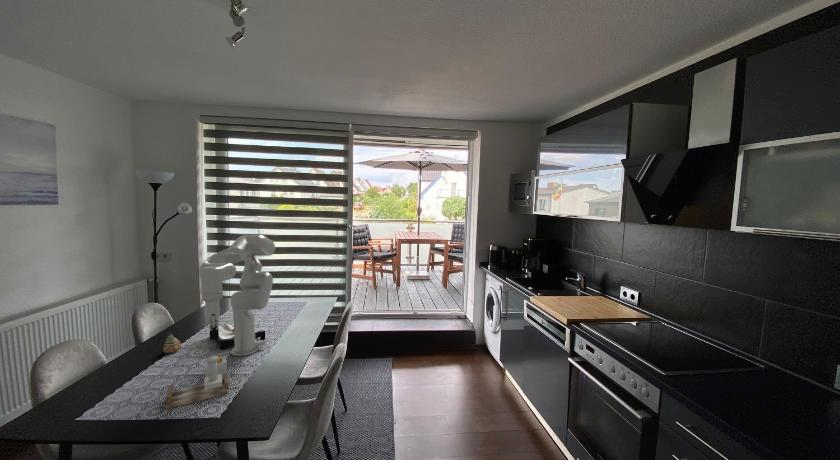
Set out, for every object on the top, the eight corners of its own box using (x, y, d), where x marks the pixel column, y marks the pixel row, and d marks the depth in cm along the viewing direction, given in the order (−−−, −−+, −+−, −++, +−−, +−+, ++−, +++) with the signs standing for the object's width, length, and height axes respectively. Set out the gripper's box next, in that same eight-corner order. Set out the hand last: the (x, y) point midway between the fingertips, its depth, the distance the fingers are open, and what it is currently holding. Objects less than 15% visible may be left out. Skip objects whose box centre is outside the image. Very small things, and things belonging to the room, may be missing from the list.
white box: (226, 373, 148) (226, 356, 147) (227, 380, 142) (226, 362, 141) (205, 378, 143) (204, 360, 143) (205, 385, 137) (204, 367, 137)
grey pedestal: (221, 378, 138) (220, 353, 137) (222, 386, 132) (221, 359, 131) (204, 382, 135) (203, 356, 134) (204, 390, 129) (203, 363, 128)
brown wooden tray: (227, 382, 140) (227, 372, 140) (228, 392, 132) (228, 382, 132) (169, 397, 129) (168, 386, 129) (166, 409, 122) (165, 397, 121)
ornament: (168, 348, 172) (167, 330, 171) (182, 346, 174) (181, 328, 173) (162, 355, 165) (160, 336, 164) (176, 353, 167) (175, 334, 166)
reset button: (220, 361, 144) (220, 355, 144) (220, 365, 141) (220, 358, 141) (210, 364, 143) (210, 357, 142) (210, 367, 140) (210, 361, 139)
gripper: (202, 291, 145) (204, 331, 146) (201, 302, 130) (203, 345, 132) (222, 289, 149) (223, 327, 150) (223, 299, 134) (225, 341, 136)
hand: (214, 335), depth 141 cm, fingers open, 6 cm apart
